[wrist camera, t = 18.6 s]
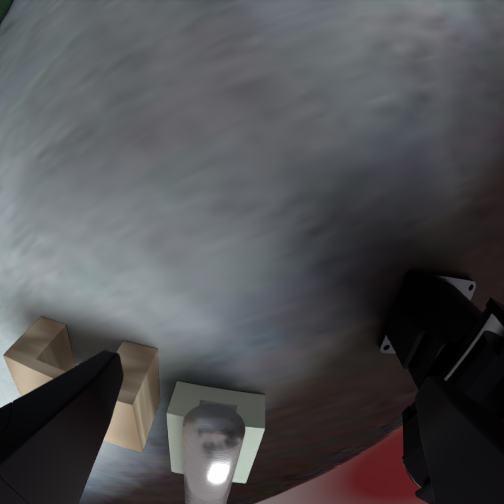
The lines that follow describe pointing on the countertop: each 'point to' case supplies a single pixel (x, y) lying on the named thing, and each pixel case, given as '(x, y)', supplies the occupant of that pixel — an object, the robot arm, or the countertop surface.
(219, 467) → the axle
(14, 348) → the wooden bridge block
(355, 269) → the countertop surface
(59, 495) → the robot arm
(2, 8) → the coffee jar
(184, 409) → the v block
